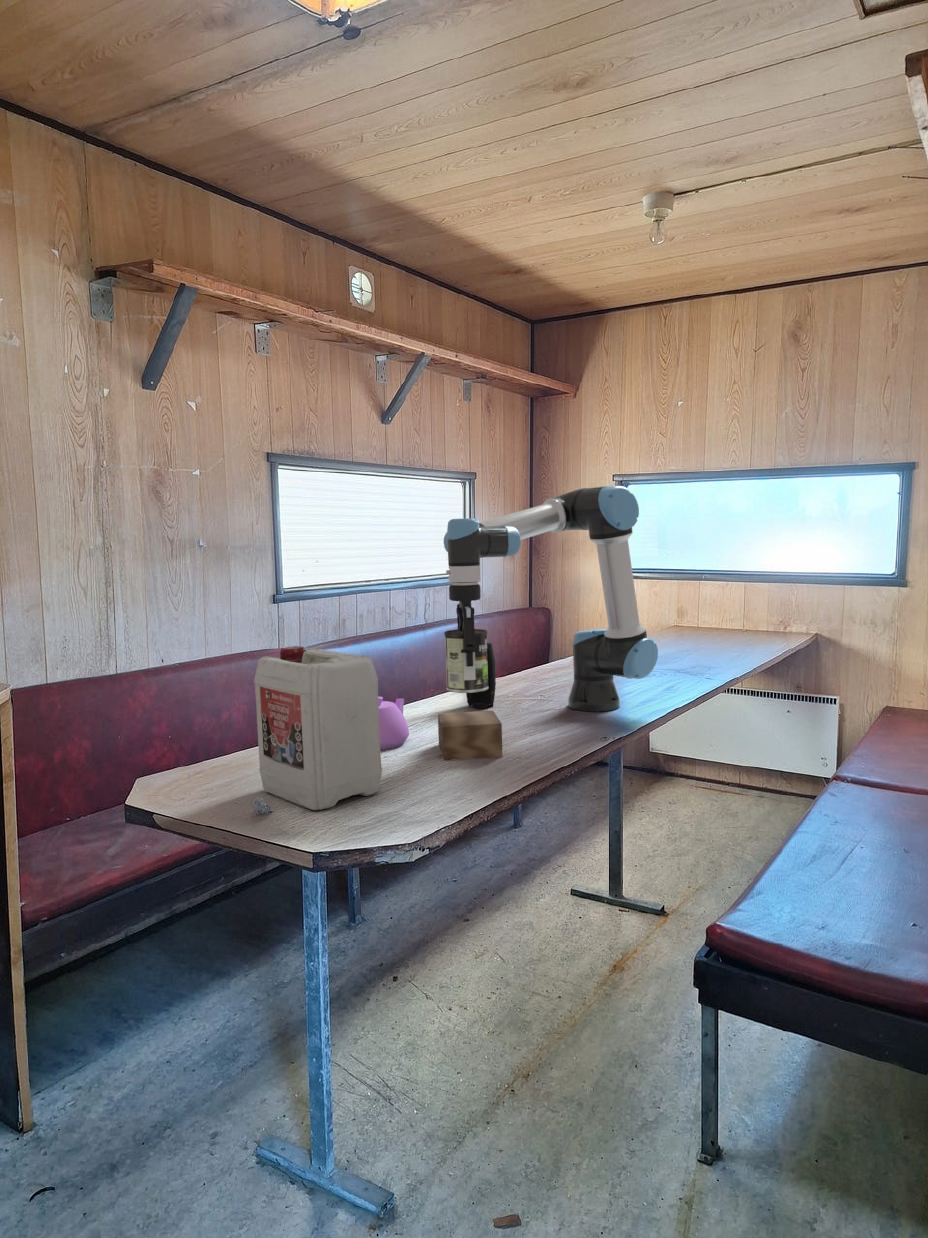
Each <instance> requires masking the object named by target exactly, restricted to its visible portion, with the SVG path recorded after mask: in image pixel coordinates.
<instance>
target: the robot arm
mask: <svg viewBox="0 0 928 1238" xmlns="http://www.w3.org/2000/svg"><path fill="white" fill-rule="evenodd" d="M639 514H640V508H639V504H638V500H637V498H636V496H635V495H634V493H633V492H632V491H630V490H629V488H627V487H625V486H621V485H605V486H595V487H583V488H578V489H575V490H572V491H569V492H566V493H562V494H560V495H557V496H554V497H551V498H548V499H546V500H544V502H543V503H542V504H540V505H537V506H532V507H530V508H526V509H523V510H518V511H515V512H512V513H508V514H506V515H501V516H498V517H495V518H491V519H488V520H487V519H486V520H483V521H481V522H479V519H477V518H476V517H475V518H474V517H473V518H470V517H469V518H453V519H450V520H448V522H447V528H446V529H447V531H446V533H445V534H444V536H443V547H444V549H445V551H446V552H447V558H448V559H447V561H448V563H447V564H448V565H447V566H448V569H446V571H445V575H448V582H449V583H451V584H450V585H449V586H448V599H449V600H450V601H452V602H458V603H457V604H456V608H455V609H456V611H455V613H456V620H457V629H459V631H462V633H463V634H464V635H463V645H464V649H461V653H463V669H464V680H476V676H475V651H476V645H475V629H476V628H475V613H476V612H475V608H474V607H472V601H473V602H474V601H478V600H480V599H481V597H482V596H481V595H482V594H481V591H482V590H481V585H480V584H479V583H480V582H481V562H480V561H481V558H482V559H483V558H501V557H502V558H507V557H513V556H515V555H516V554H517V553H518V552H519V550H520V549H521V545H522V542H521V541H522V540H525V539H529V538H532V537H535V536H538V535H542V534H544V533H547V532H551V533H555V534H556V533H560V532H564V531H588V537H589V540H590V541H591V542H593V543H594V544H595V545H596V551H597V559H598V564H599V570H600V571H599V573H600V576H601V578H600V579H601V585H602V591H603V598H604V599H603V600H604V604H605V605H604V607H605V610H606V612H605V613H606V618H607V619H606V620H607V625H608V627H607V628H596V629H595V628H594V629H586V630H580V631H576V632H575V633H574V635H573V643H572V655H573V656H572V658H573V660H572V661H573V682H572V686H571V690H570V692H569V694H568V695H569V696H568V698H567V699H568V700H567V702H568V707H569V708H570V709H572V710H575V711H582V712H583V711H584V712H605V711H613V710H616V709H619V708H620V705H621V703H620V696H619V693H618V691H617V687H616V684H615V682H614V681H615V680H614V676H616V677H620V678H621V677H622V678H625V679H629V680H630V679H631V680H633V679H636V680H639V679H640V680H642V679H644V678H646V677H647V676H650V674H652V672H653V670H654V668H655V667H656V665H657V661H658V658H659V649H658V646H657V643H656V642H655V641H654V639H652V638H650V637H648V635H647V628H646V626H644V625H643V624H641V623H640V619H639V618H640V616H639V610H638V602H637V595H636V589H635V588H636V587H635V581H634V574H633V568H632V561H631V554H630V552H631V551H630V546H629V539H630V538H631V536H632V534H634V533H633V528H634V526H635V525H636V524H637V522H638V518H639V516H640V515H639Z"/></svg>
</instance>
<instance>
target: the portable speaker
mask: <svg viewBox="0 0 928 1238" xmlns="http://www.w3.org/2000/svg"><path fill="white" fill-rule="evenodd" d="M487 663H488V687H489V688H488V689H487V690H485V691H482V692H475V693H465V695H466V703H467V705H468V707H472V708H473V709H474V708H476V709H475V710H479V709H482V710H483V708H484V709H486V708H487V707H488V706H491V707H494V703H495V696H496V685H497V684H496V683H497V681H496V680H497V679H496V659H495V652H494V650H493V642H487Z"/></svg>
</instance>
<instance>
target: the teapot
mask: <svg viewBox="0 0 928 1238" xmlns="http://www.w3.org/2000/svg"><path fill="white" fill-rule="evenodd" d="M383 699H384V697H383V696H379V695H378V703H379V730H380V751H382V750H390V749H394V748H398V747H400V746H402V745H403V744H404V743H405V742H406V740H407V739H408V737H409V736H410V731H409V730H410V729H409V725H408V722H407V720H406V717H405V716H404V703H405V699H404V698H396V699H395V702H392V701H387V700H383Z"/></svg>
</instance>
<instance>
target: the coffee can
mask: <svg viewBox="0 0 928 1238" xmlns="http://www.w3.org/2000/svg"><path fill="white" fill-rule="evenodd" d="M443 634H444V644H445V649H444V650H445V673H446V679H445V680H446V691H447V692H450V693H457V694H466V693H475V692H482V691H485V690H487V689H488V688H489V687H488V663H487V643H488V638H487V637H488V631H487V630H486V629H482V628H480V629H479V628H475V645H476V651H475V676H476V680H464V669H463V653H461V649H464V645H463V635H464V634H463V633H462V631H459V629H458V628H457V629H450V630H446V631H444V632H443Z"/></svg>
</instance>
